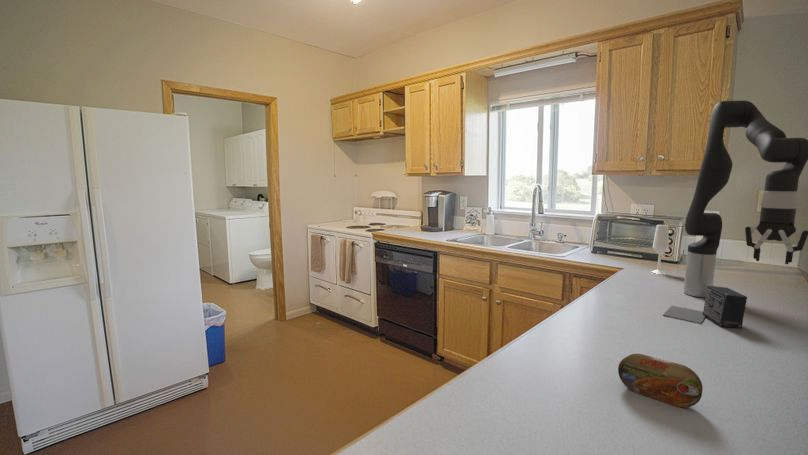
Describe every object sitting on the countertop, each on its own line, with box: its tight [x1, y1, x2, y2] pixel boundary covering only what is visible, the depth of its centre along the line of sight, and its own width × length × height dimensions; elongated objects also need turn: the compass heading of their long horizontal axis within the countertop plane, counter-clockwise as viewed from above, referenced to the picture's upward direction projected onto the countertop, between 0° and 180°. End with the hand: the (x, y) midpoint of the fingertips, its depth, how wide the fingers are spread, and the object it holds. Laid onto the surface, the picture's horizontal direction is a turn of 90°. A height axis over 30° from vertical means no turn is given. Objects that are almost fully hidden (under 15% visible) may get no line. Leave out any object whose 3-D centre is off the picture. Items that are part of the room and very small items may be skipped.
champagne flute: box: [651, 224, 670, 275], centre depth 190 cm, size 7×7×24 cm
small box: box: [702, 285, 748, 329], centre depth 125 cm, size 11×6×10 cm, turn 168°
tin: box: [617, 353, 704, 408], centre depth 82 cm, size 15×3×8 cm, turn 46°
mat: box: [662, 305, 706, 325], centre depth 133 cm, size 14×10×1 cm
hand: (771, 262), depth 116 cm, fingers open, 5 cm apart
